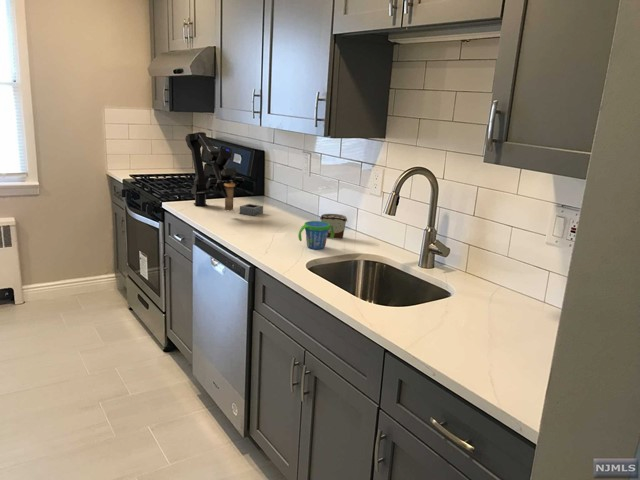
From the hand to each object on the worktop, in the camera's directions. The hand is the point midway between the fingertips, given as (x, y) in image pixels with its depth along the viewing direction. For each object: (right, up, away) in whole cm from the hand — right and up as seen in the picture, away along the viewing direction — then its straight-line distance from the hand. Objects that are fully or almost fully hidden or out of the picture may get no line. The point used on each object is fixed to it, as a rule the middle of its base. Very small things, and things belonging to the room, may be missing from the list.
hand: (230, 197), depth 249 cm
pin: (-1, -6, +3) cm, 7 cm away
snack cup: (+42, -24, -38) cm, 62 cm away
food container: (+50, -20, -19) cm, 57 cm away
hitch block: (+8, -7, +16) cm, 19 cm away
